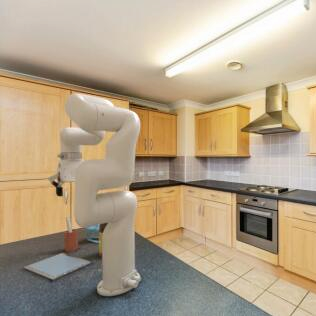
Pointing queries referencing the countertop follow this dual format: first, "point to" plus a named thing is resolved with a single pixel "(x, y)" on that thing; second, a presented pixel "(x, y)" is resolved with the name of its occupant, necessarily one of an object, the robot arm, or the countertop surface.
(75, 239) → the pen pot
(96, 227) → the chair
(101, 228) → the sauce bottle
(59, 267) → the plate
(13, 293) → the countertop surface
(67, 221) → the stylus
